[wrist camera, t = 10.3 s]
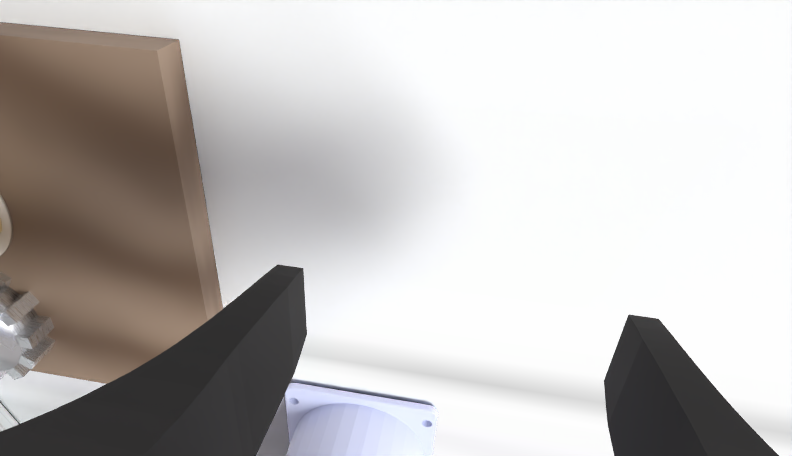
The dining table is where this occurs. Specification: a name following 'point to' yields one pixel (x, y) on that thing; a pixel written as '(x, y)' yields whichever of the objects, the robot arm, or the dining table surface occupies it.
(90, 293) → the gear board
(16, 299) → the gear
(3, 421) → the supplement box
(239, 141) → the dining table surface
